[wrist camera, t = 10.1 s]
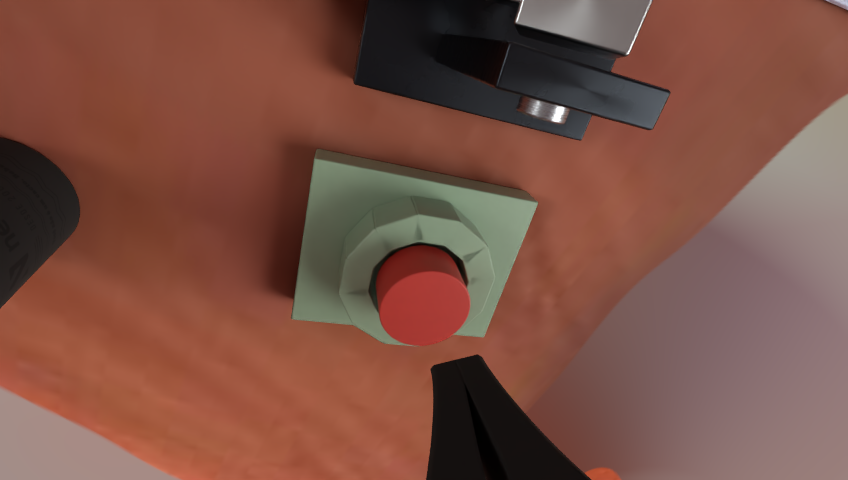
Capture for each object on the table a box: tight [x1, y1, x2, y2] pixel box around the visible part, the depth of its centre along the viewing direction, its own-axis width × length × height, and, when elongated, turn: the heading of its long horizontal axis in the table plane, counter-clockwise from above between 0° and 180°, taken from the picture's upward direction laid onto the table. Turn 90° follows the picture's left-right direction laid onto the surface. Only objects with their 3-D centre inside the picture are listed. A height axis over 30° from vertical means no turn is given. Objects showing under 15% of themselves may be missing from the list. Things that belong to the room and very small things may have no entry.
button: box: [376, 245, 471, 346], centre depth 17 cm, size 4×4×2 cm
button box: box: [291, 149, 538, 346], centre depth 19 cm, size 10×8×4 cm
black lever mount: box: [353, 0, 670, 141], centre depth 12 cm, size 10×8×8 cm
